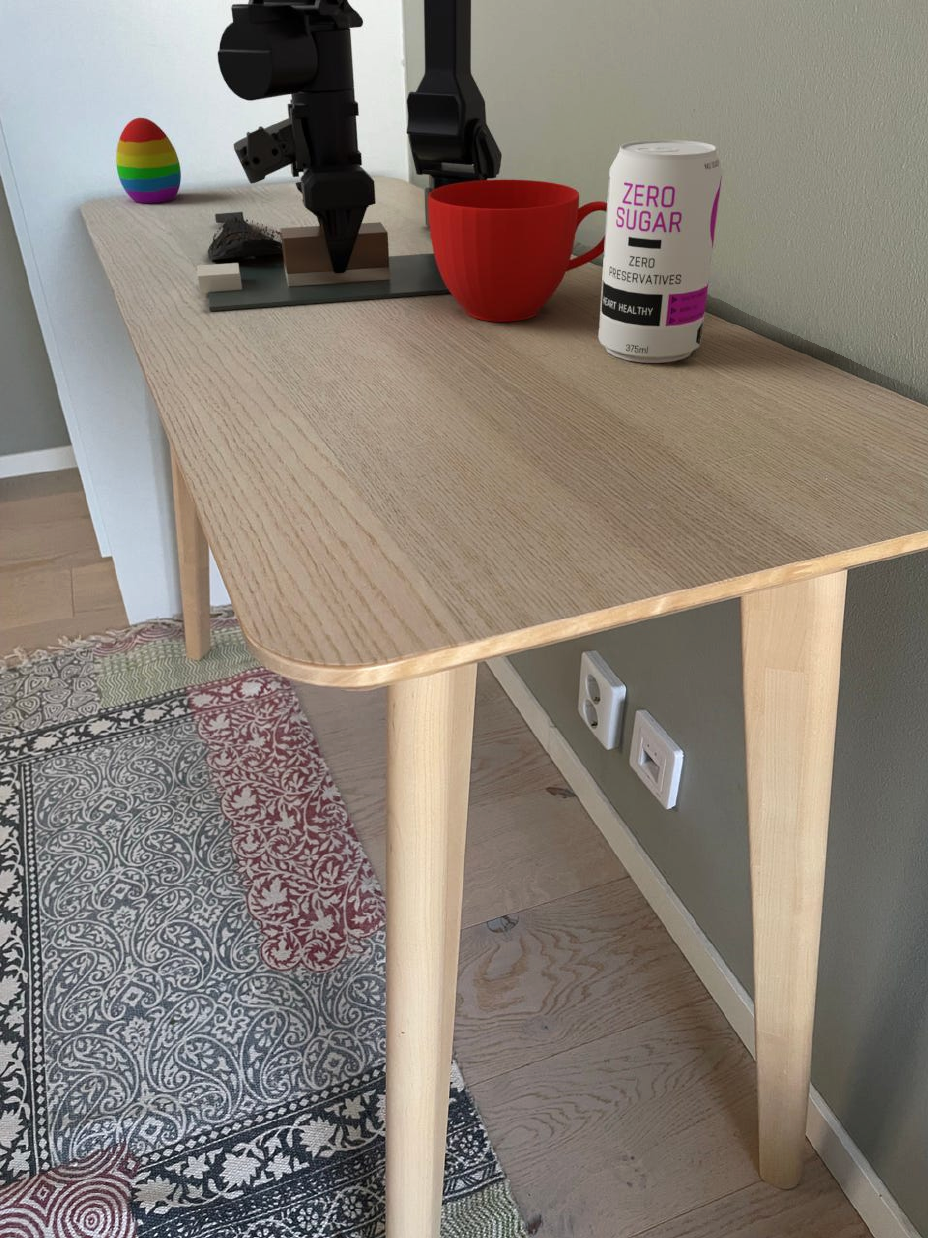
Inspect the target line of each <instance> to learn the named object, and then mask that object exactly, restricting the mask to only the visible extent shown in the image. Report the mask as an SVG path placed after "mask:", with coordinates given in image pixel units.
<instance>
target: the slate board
mask: <svg viewBox="0 0 928 1238" xmlns="http://www.w3.org/2000/svg"><path fill="white" fill-rule="evenodd" d="M239 269H240V276H241V283H242V290H233V291H219V292H208V308H209V312H219V311H232V310H233V311H234V310H245V309H260V308H273V307H285V306H298V305H312V304H313V305H314V304H324V303H337V302H338V303H339V302H350V301H351V302H353V301H363V300H379V299H390V298H391V299H393V298H404V297H417V296H418V297H419V296H432V295H444V294H451V293H450V291H449V290H448V288H447V287H446V285H445V283H444V281H443V279H442V277H441V274H440V272H439V269H438V266H437V263H436V259H435V255H434V252H433V253H432V252H431V253H423V254H422V253H419V254H406V255H392V256H391V255H389V269H390V280H377V281H363V282H349V283H334V284H320V285H306V286H292V287H289V286H288V283H287V279H286V275H285V266H284V263H273V264H272V263H271V264H258V265H257V264H256V265H243V266H239Z"/></svg>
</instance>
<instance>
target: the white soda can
mask: <svg viewBox="0 0 928 1238" xmlns="http://www.w3.org/2000/svg"><path fill="white" fill-rule="evenodd" d="M717 150H718V147H717V146H715V144H710V143H706V142H703V141H694V140H682V139H648V140H647V139H646V140H644V139H643V140H636V141H629V142H625V143H622V144H620V146H619V151H618V153H617V155H616V156H615V158H614V160H613V162H612V164H611V166H610V167H609V170H608V171H609V172H608V186H607V187H608V188H607V201H606V203H607V212H606V217H605V231H604V236H605V246H604V252H603V262H602V263H603V264H602V275H601V276H602V278H601V279H602V280H601V291H600V292H601V293H600V305H599V306H600V308H599V320H598V321H599V322H598V336H597V338H598V341H599V343H600V344H601V345H602V346H603V347H605V350H606V352H607V353H609V354H610V355H612V356H614V357H617V358H619V359H621V360H626V361H630V362H635V363H643V364H644V363H645V364H646V363H647V364H660V363H672V362H676V361H681V360H684V359H686V358H688V357H689V356H691V354H692V352H693V351H695V350H697V349H698V348H700V345H701V342H702V337H703V329H704V323H705V322H704V321H705V312H706V305H707V297H708V289H709V284H710V283H709V282H710V274H711V268H712V267H711V265H712V259H713V257H712V256H713V251H714V242H715V234H716V226H717V219H718V211H719V203H720V196H721V195H720V194H721V187H722V181H723V173H724V172H723V171H724V170H723V167H722V165H721V161H720V159H719V156H718V153H717Z"/></svg>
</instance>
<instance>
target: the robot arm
mask: <svg viewBox="0 0 928 1238" xmlns="http://www.w3.org/2000/svg"><path fill="white" fill-rule="evenodd" d="M230 8H231V9H230V10H231V18H232V22H231V23H230V24H228V25H227V26H226V27H225V29H224V30H223V32H222V34H221V38H220V41H219V47H218V51H217V62H218V66H219V70H220V74H221V76H222V78H223V81H224V82H225V84H226V85H227V88H228V89H229V90H230V91H231V92H232V93H233V94H234V95H235V96H237V97H238V98H240V99H242V100H245V101H249V102H252V101H258V100H264V99H265V100H266V99H270V98H275V97H283V96H288V95H290V96H291V99H289V100H290V101H289V102H290V103H287V115H288V118H285V119H283V120H281V121H279V122H277V123H274V124H271V125H269V126H267V127H265V128H264V127H263V126H261V125H260V126H258V129H256V130H253V131H248V132H246V136H245V137H243V138H241V139H240V140H237V141H235V143H233V150H234V152H235V154H236V156H237V158H238V161H239V164H240V165H241V167H242V169H243V171H244V173H245V176H246V177H247V180H248V182H249V183H250V184H252V185H253V184H256V183H259V182H261V181H263V180H265V179H266V177H267V176H268V175H270V174H272V173H275V172H277V171H279V170H282V169H283V168H286V167H288V166H290V172H291V175H292V177H293V178H299V177H300V173H302V176H301V177H300V181H298V182H295V187H296V189H297V191H298V192H299V193H300V194H301V196H302V199H301V201H302V203H303V205H304V208H306V210H307V211H309V212H311V214H313V215H314V216H315V217H316V219H317V222H318V226H322V229H323V233H324V236H325V240H326V244H327V248H328V252H329V255H330V259H331V263H332V267H333V270H334V272H335V273H345V271H346V269H347V266H348V263H349V260H350V256H351V253H352V250H353V247H354V244H355V241H356V238H357V235H358V232H359V229H360V227H361V224H362V223H363V221H364V218H365V216H366V213H367V209H368V208H369V207H370V206H373V205H376V184H375V183H376V182H375V180H374V179H373V178H372V176H371V175H370V174H369V173H368V172H367V171H366V170H365V169H364V168H363V167H362V166H363V160H362V159H363V158H362V152H361V151H360V150H359V141H358V128H357V117H358V116H360V113H359V110H360V109H359V103H358V101H357V100H356V96H355V81H354V78H355V77H354V65H353V49H352V35H351V34H352V33H351V29H355V28H361V27H363V25H364V19H363V17H362V16H361V14H360V13H359V12H358V11H357V10H355V8H353V7H352V6H351V4H350V3H349V0H248V2H247V3H234V4H232V5H231V6H230ZM423 30H424V31H423V33H424V34H423V35H424V38H423V39H424V41H423V42H424V74H423V75H422V78H421V80H420V82H419V85H418V86H417V88H416V90H415V91H409V92H408V96H407V98H406V109H407V126H406V127H407V128H406V134H407V136H408V143H409V148H410V152H411V155H412V160H413V165H414V169H415V173H416V175H417V176H424V175H427V176H428V187H425V188H424V215H425V225H426V227H427V228H428V229H429V230H430V224H429V214H428V195H429V194H430V192H431V191H433V190H434V189H436V188H439V187H442V186H446V185H450V184H455V183H461V182H470V181H481V180H492V179H496V178H497V175H499V174H500V170H501V165H502V156H503V155H502V152H501V150H500V148H499V146H498V144H497V141H496V140H495V138H494V135H493V134H492V132H491V130H490V128H489V125H488V124H487V110H486V100H485V98H484V96H483V95H482V92H481V90H480V88H479V86H478V84H477V82H476V81H475V78H474V76H473V74H472V68H471V67H472V0H423Z"/></svg>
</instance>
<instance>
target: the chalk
mask: <svg viewBox="0 0 928 1238" xmlns="http://www.w3.org/2000/svg"><path fill="white" fill-rule="evenodd" d="M239 267H240V263H239V262H231V263H229V262H228V263H217V264H205V265H204V264H202V265H201V264H200V265H197V267H196V268H197V273H196V274H197V281H198V289H199V293H200V294H203V293H204V294H205V293H209V292H219V291H233V290H242V283H241V276H240V269H239Z"/></svg>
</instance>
